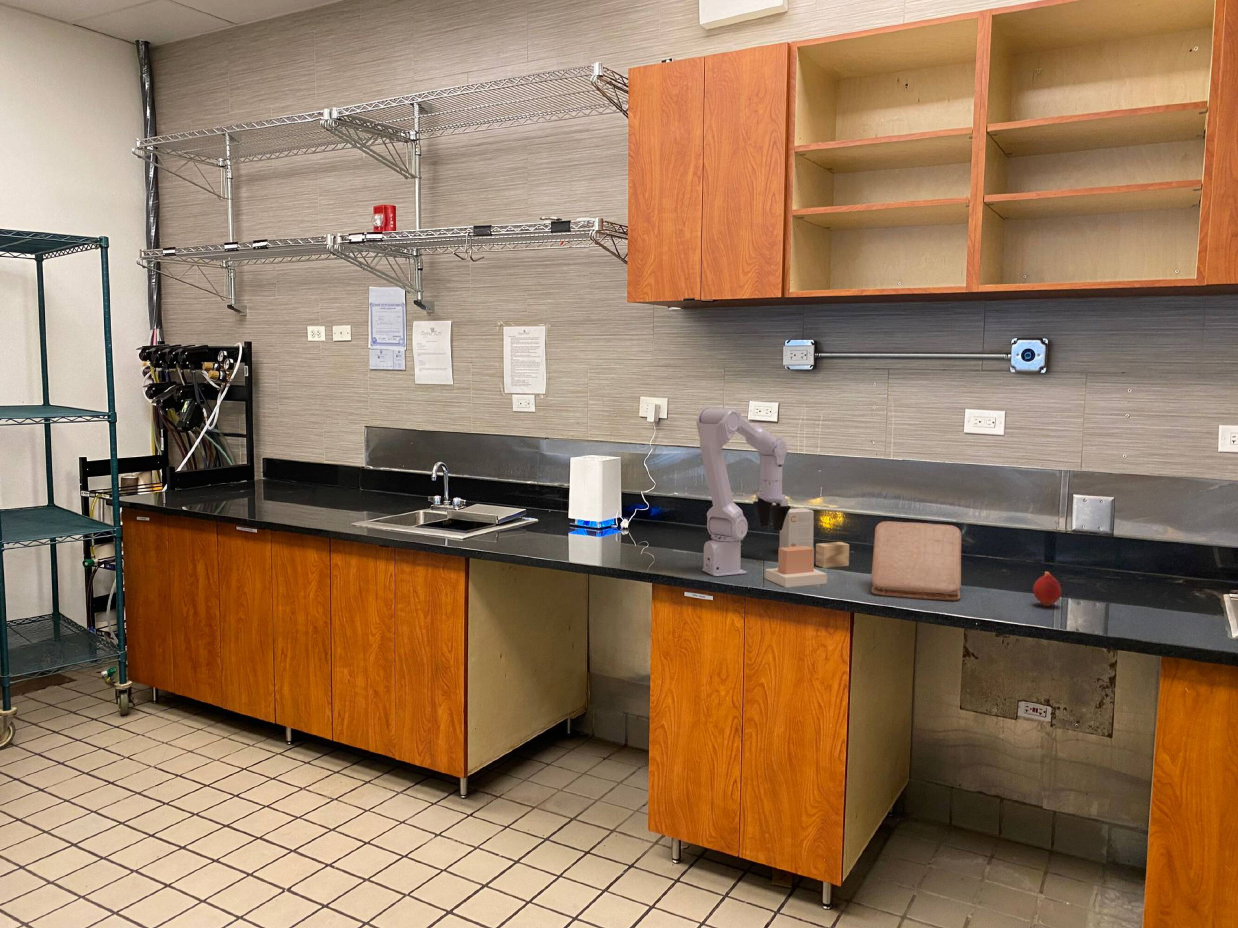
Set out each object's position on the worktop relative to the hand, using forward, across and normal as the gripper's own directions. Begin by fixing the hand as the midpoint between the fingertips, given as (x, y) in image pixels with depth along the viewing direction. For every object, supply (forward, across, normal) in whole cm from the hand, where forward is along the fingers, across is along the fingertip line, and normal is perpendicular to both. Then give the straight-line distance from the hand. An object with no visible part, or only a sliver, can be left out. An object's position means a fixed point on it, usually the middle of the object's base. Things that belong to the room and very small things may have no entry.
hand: (771, 528), depth 251 cm
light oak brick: (+10, -11, -13) cm, 20 cm away
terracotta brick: (+7, -23, +6) cm, 25 cm away
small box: (+10, +6, -12) cm, 16 cm away
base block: (+10, -23, +6) cm, 26 cm away
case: (+10, -41, -17) cm, 45 cm away
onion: (+10, -65, -34) cm, 74 cm away
